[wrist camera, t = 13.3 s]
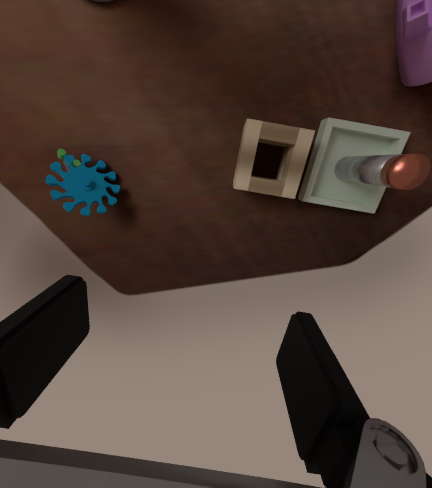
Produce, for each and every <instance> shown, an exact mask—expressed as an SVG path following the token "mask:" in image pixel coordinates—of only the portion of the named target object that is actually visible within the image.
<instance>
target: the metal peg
mask: <svg viewBox="0 0 432 488" xmlns="http://www.w3.org/2000/svg"><path fill="white" fill-rule="evenodd" d="M429 172H430V161H429V159H428V158H427V157H426V156H425V155H423V154H393V155H368V156H346V157H343V158H341V159H340V160H339V161H338V162H337V163H336V165H335V169H334V173H335V175H336V177H337V178H338V179H340V180H346V181H352V182H358V183H365V184H371V185H377V186H383V187H389V188H396V189H402V190H410V189H413V188H416V187H418V186H419V185H420V184H422V183H423V182H424V181H425V179H426V178H427V176H428V174H429Z"/></svg>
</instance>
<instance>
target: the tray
mask: <svg viewBox="0 0 432 488" xmlns="http://www.w3.org/2000/svg"><path fill="white" fill-rule="evenodd" d="M410 133H411V132H406V131H401V130H395V129H390V128H384V127H379V126H373V125H368V124H362V123H357V122H351V121H346V120H340V119H335V118H329V117H328V118H326V119H324V120H321V123H320V127H319V130H318V133H317V137H316V140H315V143H314V146H313V150H312V153H311V156H310V160H309V163H308V166H307V170H306V173H305V176H304V180H303V183H302V186H301V189H300V193H299V196H298V199H299V200H301V201H304V202H310V203H316V204H322V205H327V206H333V207H339V208H345V209H350V210H356V211H362V212H368V213H373V214H375V211H376V209H377V207H378V205H379V202H380V200H381V198H382V196H383V193H384V191H385V189H386V187H383V186H377V185H371V184H365V183H358V182H352V181H346V180H340V179H338V178H337V177H336V175H335V173H334V169H335V165H336V163H337V162H338V161H339V160H340V159H341V158H343V157H346V156H368V155H393V154H401V153H402V151H403V148H404V146H405V144H406V142H407V139H408V137H409V135H410Z"/></svg>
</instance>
